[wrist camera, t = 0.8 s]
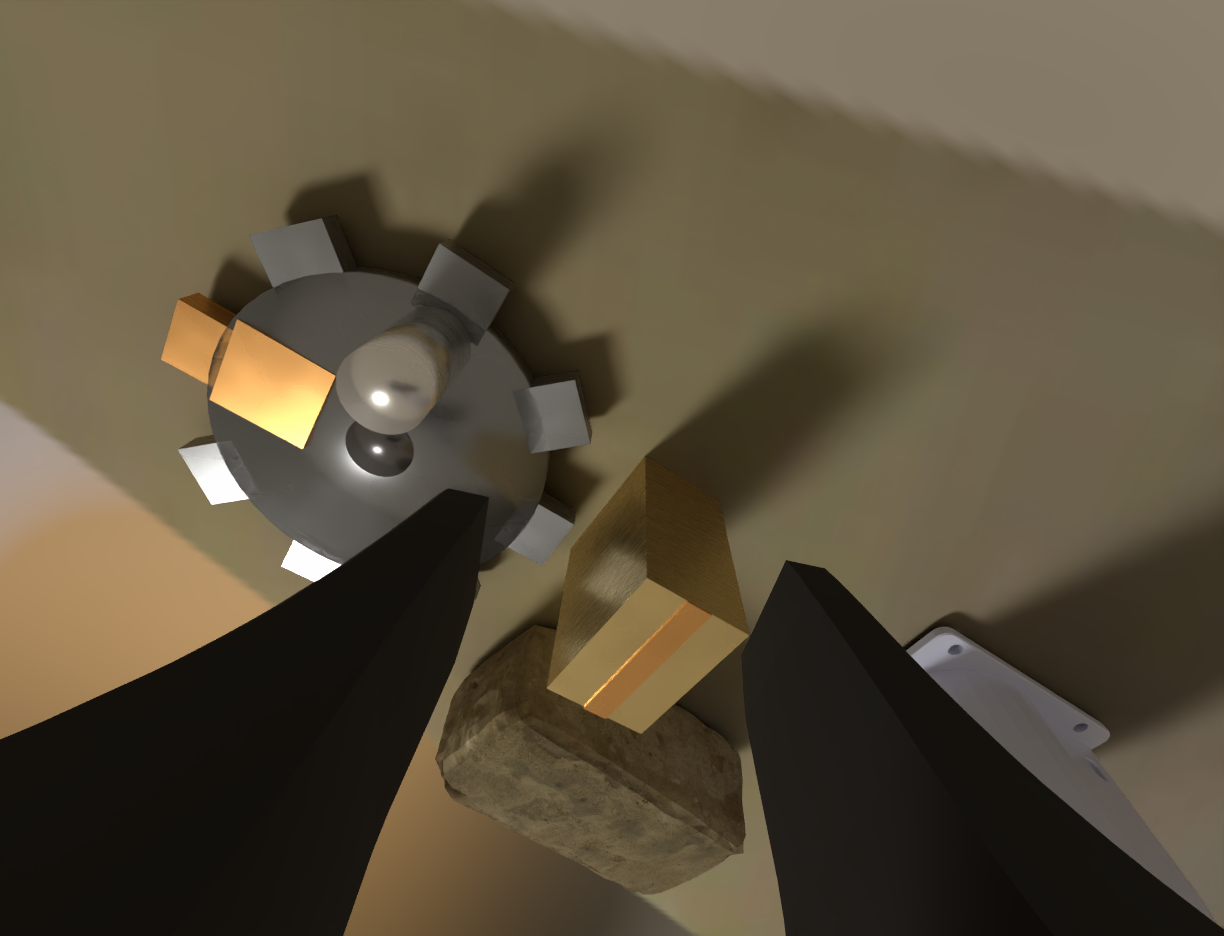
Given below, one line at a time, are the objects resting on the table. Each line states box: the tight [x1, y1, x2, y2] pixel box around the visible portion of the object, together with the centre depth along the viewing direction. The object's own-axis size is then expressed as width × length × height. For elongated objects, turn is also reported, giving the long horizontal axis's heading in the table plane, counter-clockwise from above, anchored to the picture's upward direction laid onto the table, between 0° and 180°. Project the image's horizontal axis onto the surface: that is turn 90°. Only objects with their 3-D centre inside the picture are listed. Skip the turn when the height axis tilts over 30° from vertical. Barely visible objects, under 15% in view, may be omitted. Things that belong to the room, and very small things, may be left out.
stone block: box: [435, 625, 746, 894], centre depth 22 cm, size 6×12×5 cm, turn 50°
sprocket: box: [161, 215, 592, 601], centre depth 16 cm, size 12×12×4 cm
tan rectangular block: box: [547, 456, 749, 734], centre depth 17 cm, size 3×4×6 cm, turn 146°
